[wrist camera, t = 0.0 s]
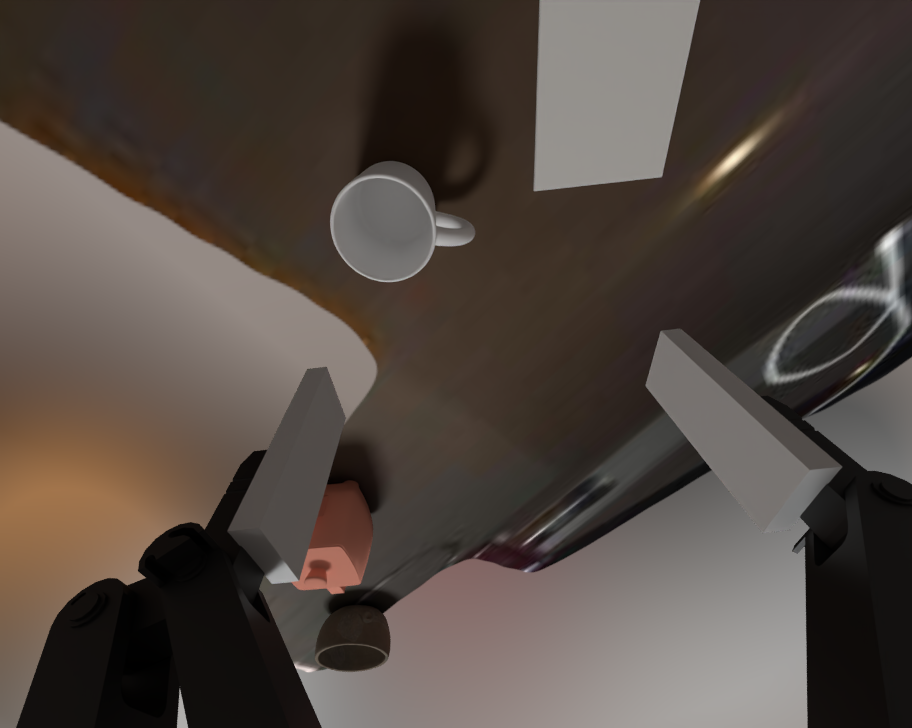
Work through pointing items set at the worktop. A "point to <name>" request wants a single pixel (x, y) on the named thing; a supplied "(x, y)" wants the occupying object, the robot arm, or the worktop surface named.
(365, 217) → the mug
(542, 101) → the paper
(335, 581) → the teapot
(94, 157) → the worktop surface
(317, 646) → the bowl
